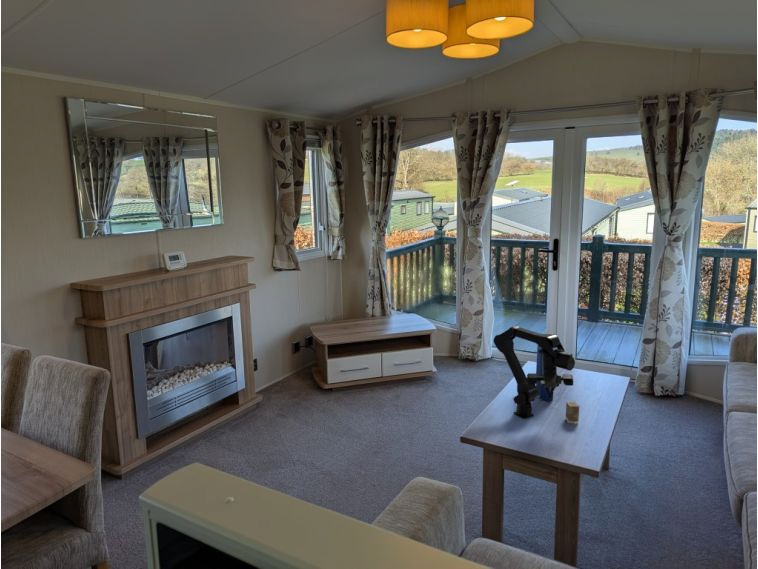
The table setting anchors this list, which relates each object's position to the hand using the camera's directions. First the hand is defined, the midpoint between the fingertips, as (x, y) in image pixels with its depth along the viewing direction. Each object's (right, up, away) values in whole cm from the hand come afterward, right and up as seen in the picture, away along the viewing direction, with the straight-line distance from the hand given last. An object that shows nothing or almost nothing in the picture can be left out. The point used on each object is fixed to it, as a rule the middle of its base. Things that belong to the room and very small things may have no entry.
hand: (549, 397), depth 230 cm
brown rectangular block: (+11, -11, +3) cm, 16 cm away
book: (+8, -6, +33) cm, 35 cm away
